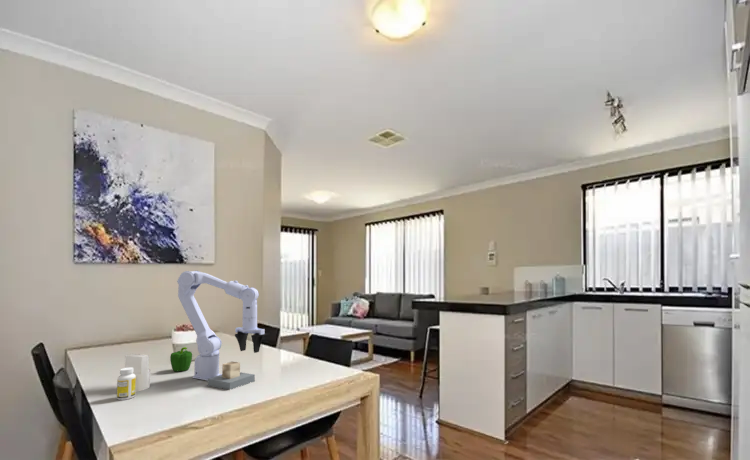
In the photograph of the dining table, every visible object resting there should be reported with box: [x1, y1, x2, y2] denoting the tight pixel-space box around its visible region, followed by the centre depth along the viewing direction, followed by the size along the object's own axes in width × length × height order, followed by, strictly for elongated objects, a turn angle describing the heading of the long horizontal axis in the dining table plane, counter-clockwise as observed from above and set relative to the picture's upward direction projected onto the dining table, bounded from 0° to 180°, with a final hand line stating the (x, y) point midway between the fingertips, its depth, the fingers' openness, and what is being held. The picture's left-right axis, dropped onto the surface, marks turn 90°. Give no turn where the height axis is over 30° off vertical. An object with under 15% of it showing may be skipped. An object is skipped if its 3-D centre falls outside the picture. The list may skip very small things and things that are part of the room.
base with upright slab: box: [124, 353, 151, 393], centre depth 150 cm, size 9×9×12 cm
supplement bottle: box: [116, 367, 136, 401], centre depth 139 cm, size 5×5×10 cm
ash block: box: [221, 361, 241, 379], centre depth 153 cm, size 4×4×5 cm
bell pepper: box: [169, 346, 193, 372], centre depth 174 cm, size 8×8×10 cm
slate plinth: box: [207, 371, 256, 390], centre depth 153 cm, size 12×12×2 cm
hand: (249, 351), depth 163 cm, fingers open, 7 cm apart
